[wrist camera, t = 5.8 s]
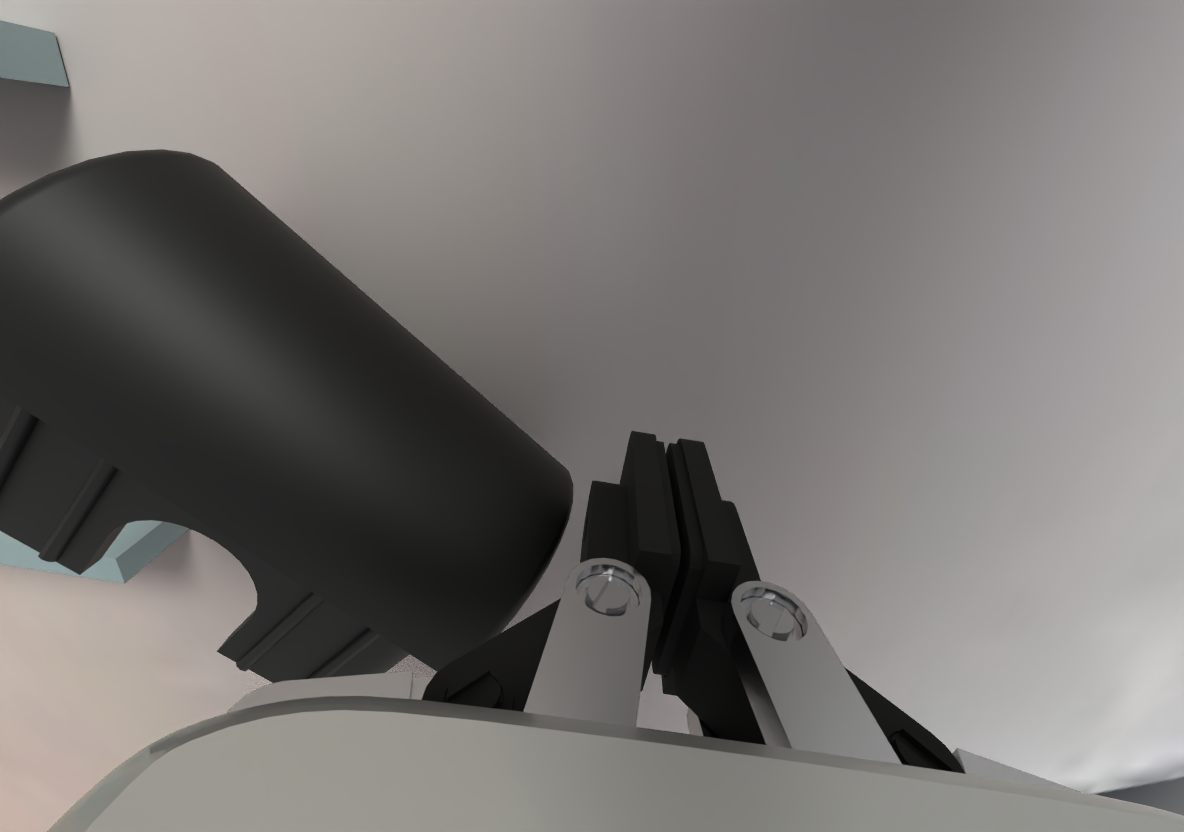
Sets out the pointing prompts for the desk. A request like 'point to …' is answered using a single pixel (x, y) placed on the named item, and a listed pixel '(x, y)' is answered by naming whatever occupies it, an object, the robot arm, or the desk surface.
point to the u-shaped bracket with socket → (139, 542)
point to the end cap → (255, 422)
